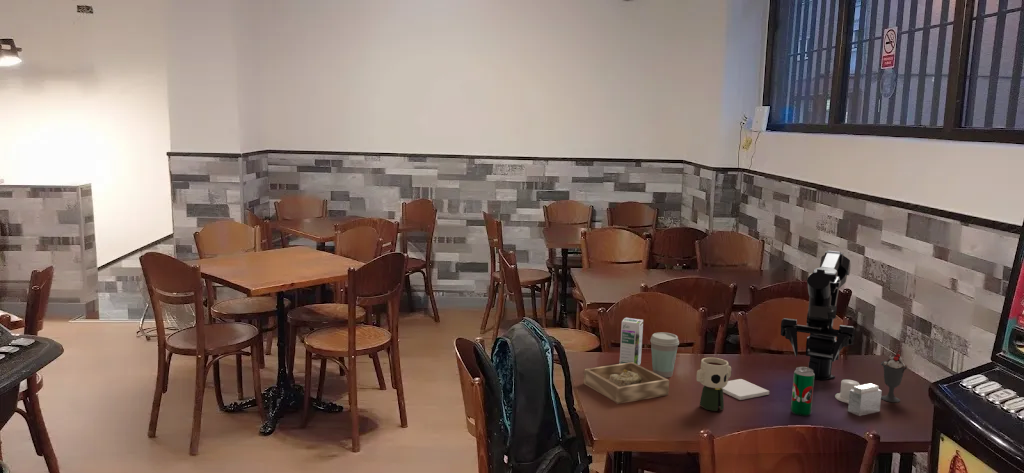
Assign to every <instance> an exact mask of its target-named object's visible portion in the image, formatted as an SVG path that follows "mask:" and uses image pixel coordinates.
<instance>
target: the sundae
mask: <svg viewBox="0 0 1024 473" xmlns="http://www.w3.org/2000/svg"><path fill="white" fill-rule="evenodd" d="M899 352H900V349H898V350H897V352H896V353H895V354H892V355H890V356H889V358H888V359H887V360H883V361H882V362H881V363H880V365H881V366H882V367H883V380H884V383H885V384H886V386H887V387H888V388H889V389H888V393H887V394H886V395H881V400H883V401H885V402H889V403H893V404H895V403H900V402H901V399H900V398H898V397H896V396H895V392H894V391H895V388H897V387H899V386H900V385H901V383H902V381H903V376H904V372H905V371H906V370H907V369H908V366H907V365H906V364H905V363H904V361H903V358H902V357H901V354H899Z"/></svg>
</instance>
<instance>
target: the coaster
mask: <svg viewBox="0 0 1024 473" xmlns="http://www.w3.org/2000/svg"><path fill="white" fill-rule="evenodd" d="M722 389H723V394H726V395H729V396H730V397H732V398H735V399H736V400H739V401H743V400H748V399H753V398H758V397H763V396H768V395H770V390H768V389H766V388H763V387H761V386H759V385H756V384H754V383H751V382H749V381H747V380H745V379H742V378H738V379H732V380H728V383H727V385H726V386H725V387H724V388H722Z"/></svg>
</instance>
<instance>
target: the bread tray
mask: <svg viewBox="0 0 1024 473" xmlns="http://www.w3.org/2000/svg"><path fill="white" fill-rule="evenodd" d="M624 369H625V370H628V371H631V372H634V373H637V374H638V375H639V376H640V377H641V378H642V380H641V383H640V384H633V385H627V386H621V387H619V386H617V385H616V384H614V383H612V382H610V381H608V380H609V378H610V375H612V374H617V375H621V374H622V373H623V371H624ZM583 384H584V385H586V386H587V387H589V388H591V389H592V390H594V391H596V392H597V393H599V394H601V395H602V396H604V397H606V398H607V399H609V400H611V401H613V402H614V403H616V404H618V405H619V404H624V403H632V402H636V401H642V400H648V399H653V398H657V397H664V396H668V395H669V387H670V380H669V379H668V378H664V377H662V376H660V375H658V374H656V373H654V372H653V370H649V369H647V368H646V367H643V366H642V365H641V364H640V365H638V364H636V363H634V362H629V363H622V364H619V363H616V364H610V365H603V366H597V367H588V368H585V369H584V371H583Z"/></svg>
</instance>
